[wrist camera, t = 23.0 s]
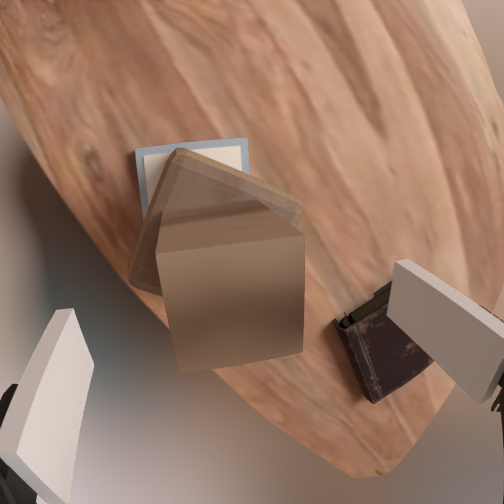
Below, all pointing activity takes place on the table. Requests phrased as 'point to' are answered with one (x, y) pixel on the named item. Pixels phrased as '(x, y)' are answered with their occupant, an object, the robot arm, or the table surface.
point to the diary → (380, 348)
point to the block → (198, 204)
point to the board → (219, 150)
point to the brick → (231, 284)
